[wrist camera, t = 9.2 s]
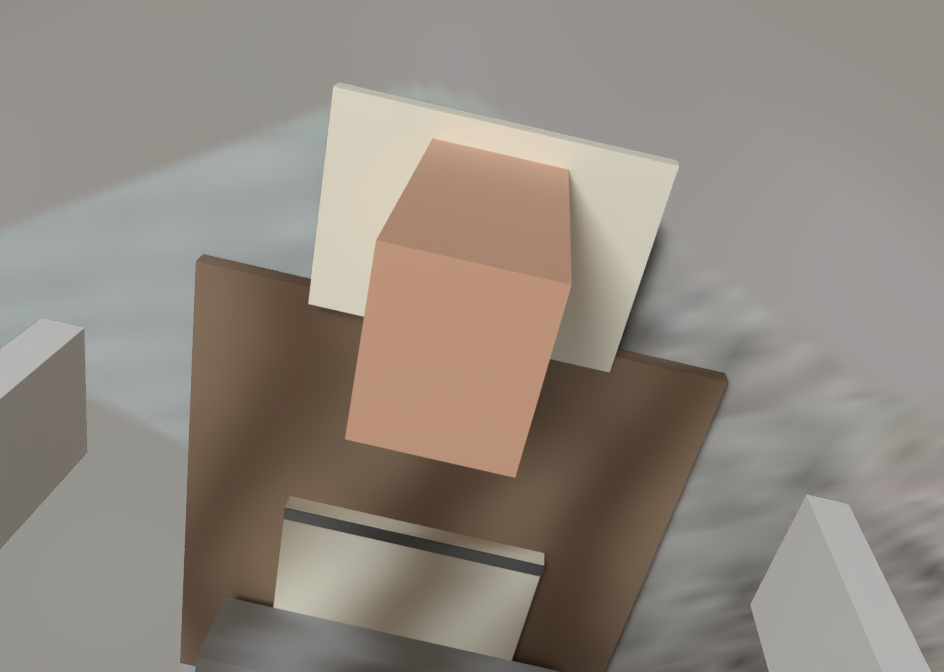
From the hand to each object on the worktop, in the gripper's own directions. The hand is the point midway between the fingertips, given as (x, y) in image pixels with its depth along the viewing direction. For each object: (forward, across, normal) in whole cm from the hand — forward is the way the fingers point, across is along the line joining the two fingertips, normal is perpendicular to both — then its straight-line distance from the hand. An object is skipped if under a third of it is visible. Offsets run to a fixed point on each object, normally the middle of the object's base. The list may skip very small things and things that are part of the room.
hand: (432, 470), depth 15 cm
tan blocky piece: (+12, 0, 0) cm, 12 cm away
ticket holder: (+13, 0, +13) cm, 18 cm away
